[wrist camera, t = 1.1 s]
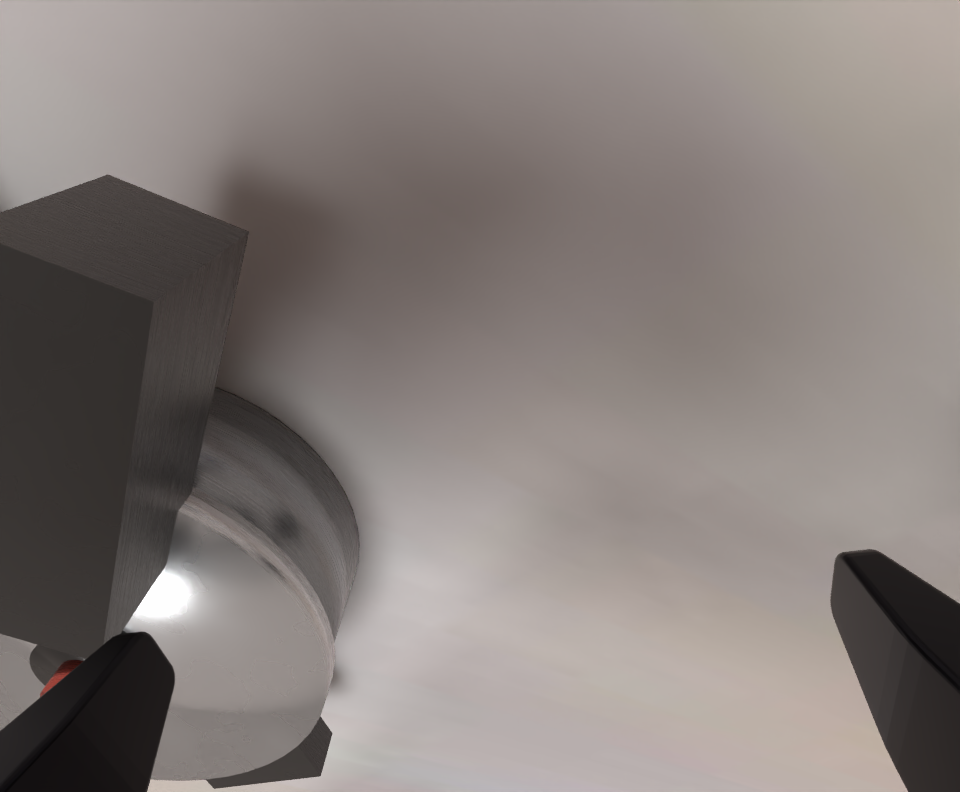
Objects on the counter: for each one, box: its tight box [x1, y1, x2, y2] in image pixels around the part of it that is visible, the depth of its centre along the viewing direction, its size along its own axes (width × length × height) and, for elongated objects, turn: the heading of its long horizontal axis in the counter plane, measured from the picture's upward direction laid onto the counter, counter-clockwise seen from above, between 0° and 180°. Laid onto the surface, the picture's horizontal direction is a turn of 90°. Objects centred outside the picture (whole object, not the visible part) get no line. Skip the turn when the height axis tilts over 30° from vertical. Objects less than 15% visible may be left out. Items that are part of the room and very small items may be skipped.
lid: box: [0, 175, 335, 781], centre depth 17 cm, size 22×15×4 cm, turn 158°
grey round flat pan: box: [193, 388, 359, 789], centre depth 22 cm, size 25×14×4 cm, turn 18°
